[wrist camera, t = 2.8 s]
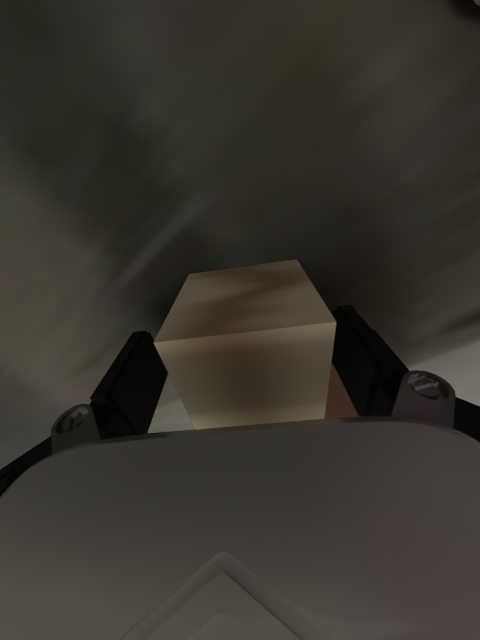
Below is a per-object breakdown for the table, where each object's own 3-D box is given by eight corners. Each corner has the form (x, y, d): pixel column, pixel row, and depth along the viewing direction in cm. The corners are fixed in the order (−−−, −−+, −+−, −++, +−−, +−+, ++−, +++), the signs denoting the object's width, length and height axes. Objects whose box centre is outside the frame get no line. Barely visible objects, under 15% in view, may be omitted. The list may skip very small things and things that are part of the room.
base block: (296, 258, 12) (336, 322, 7) (296, 342, 15) (323, 426, 10) (189, 273, 12) (153, 342, 7) (212, 351, 16) (198, 435, 11)
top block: (344, 363, 16) (379, 428, 12) (336, 403, 19) (363, 467, 15) (276, 369, 17) (288, 434, 12) (279, 407, 19) (289, 471, 15)
